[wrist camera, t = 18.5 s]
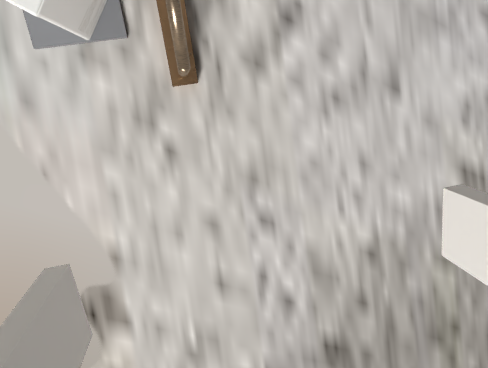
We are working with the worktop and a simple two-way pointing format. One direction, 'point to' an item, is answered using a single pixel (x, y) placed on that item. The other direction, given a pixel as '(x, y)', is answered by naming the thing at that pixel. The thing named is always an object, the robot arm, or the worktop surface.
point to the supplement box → (66, 13)
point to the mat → (54, 35)
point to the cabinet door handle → (177, 41)
